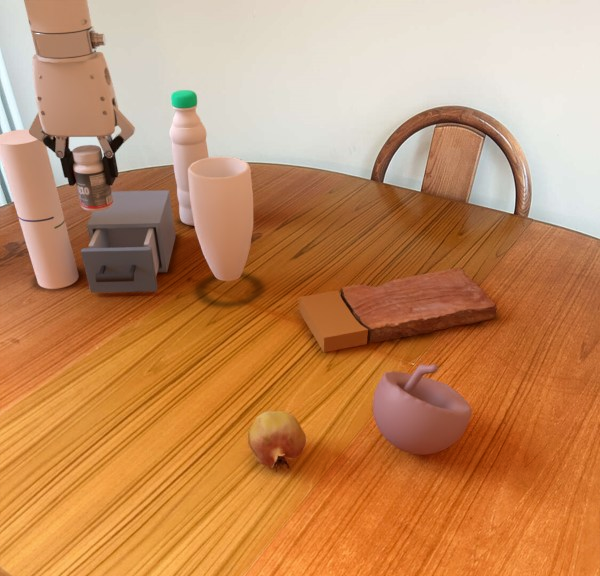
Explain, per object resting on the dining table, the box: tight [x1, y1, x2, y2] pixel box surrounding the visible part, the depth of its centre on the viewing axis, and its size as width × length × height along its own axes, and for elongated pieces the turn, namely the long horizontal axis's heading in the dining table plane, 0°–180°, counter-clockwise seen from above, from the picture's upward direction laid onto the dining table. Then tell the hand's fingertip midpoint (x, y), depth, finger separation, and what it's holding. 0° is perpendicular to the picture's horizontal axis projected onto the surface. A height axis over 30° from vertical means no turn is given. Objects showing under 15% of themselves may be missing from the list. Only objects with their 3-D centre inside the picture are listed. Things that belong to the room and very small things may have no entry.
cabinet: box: [86, 189, 177, 273], centre depth 122 cm, size 15×13×10 cm
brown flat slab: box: [298, 267, 498, 353], centre depth 107 cm, size 13×30×3 cm, turn 108°
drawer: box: [80, 227, 161, 294], centre depth 114 cm, size 18×11×8 cm, turn 2°
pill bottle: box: [71, 144, 113, 212], centre depth 96 cm, size 5×5×8 cm
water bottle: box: [169, 89, 210, 227], centre depth 129 cm, size 7×7×25 cm
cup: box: [188, 156, 254, 282], centre depth 108 cm, size 10×10×22 cm
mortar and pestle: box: [372, 363, 472, 456], centre depth 81 cm, size 12×12×12 cm
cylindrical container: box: [0, 128, 80, 290], centre depth 110 cm, size 7×7×25 cm
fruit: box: [247, 410, 307, 473], centre depth 81 cm, size 7×7×10 cm
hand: (92, 180), depth 96 cm, fingers closed on pill bottle, 4 cm apart
